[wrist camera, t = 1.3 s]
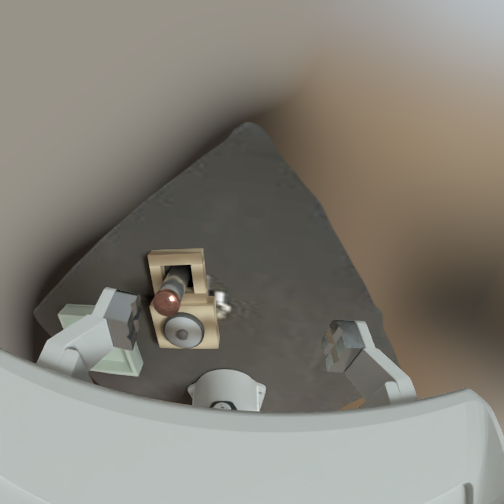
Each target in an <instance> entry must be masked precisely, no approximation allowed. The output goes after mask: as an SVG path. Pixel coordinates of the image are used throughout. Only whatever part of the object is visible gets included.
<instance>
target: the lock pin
mask: <svg viewBox="0 0 504 504" xmlns="http://www.w3.org/2000/svg"><path fill="white" fill-rule="evenodd" d="M190 277H191V273H190V270H189V268H188V267H187V266H185V265H173V266H172V267H171V269H170V271H169V272H168V274H167V276H166V278H165V280H164V281H163V283H162V285H161V287H160V289H159V291H158V292H157V293H156V295H155V297H154V299H153V307H154V309H155V310H156V311H157V312H158V313H159V314H161V315H163V316H167V317H170V316H174V315H175V314H177V313H178V311H179V308H180V306H181V301H182V298H183V295H184V293H185V290H186V287H187V285H188V282H189V279H190Z"/></svg>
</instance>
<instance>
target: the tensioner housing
mask: <svg viewBox="0 0 504 504" xmlns="http://www.w3.org/2000/svg"><path fill="white" fill-rule="evenodd" d="M147 256H148V262H149V267H150V273H151V278H152V283H153V288H154V293H155V295H156V293H157V292H158V291H159V289H160V287H161V285H162V283H163V281H164V280H165V278H166V273H165V267H164V266H167V265H191V270H192V278H193V285H194V287H186V290H185V293H184V295H183V298H182V301H181V306H180V308H179V311H178V313H177V314H175V315H174V316H170V317H167V316H163V315H161V314H159V313H158V312H157V311H156V310H155V309H154V307H153V300H152V302H151V304H150V306H149V307H150V311H151V315H152V319H153V323H154V327H155V331H156V335H157V338H158V342H159V346H160V348H199V349H206V348H219V338H220V337H219V329H218V321H217V312H216V303H215V296H208V289H207V280H206V271H205V262H204V252H203V248H192V249H170V250H151V252H150V253H149V254H148V255H147ZM153 299H154V298H153Z"/></svg>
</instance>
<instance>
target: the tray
mask: <svg viewBox="0 0 504 504" xmlns="http://www.w3.org/2000/svg"><path fill="white" fill-rule="evenodd" d="M95 306H96V305H78V304H66V305H65V307H64V308H63V309H62V310H61V311H60V312H59V313H58V317H59V319H60V322H61V324H62V327H63V329H66V328H67V327H69V326H70V325H72V324H73V323H75V322H76V321H78V320H80V319H81V318H83V317H84V316H86V315H88V314H89V315H91V314H92V312H93V310H94V308H95ZM142 366H143V361H142V358H141V355H140V352H139V349H138V346H137V343H136V342H135V345H134V349H133V351H131V350H126V349H121V348H116V347H114V349H112V350H111V351H110V352H109V353H108V354H107V355H106V356H105V357H104V358H102V359H101V360H100V361H99V362H98V363H97V364H96V365H95V366H94V367H93V368H92V369H90V370H91V371H97V372H104V373H112V374H120V375H129V376H139V373H140V371H141V368H142Z"/></svg>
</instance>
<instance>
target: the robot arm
mask: <svg viewBox="0 0 504 504" xmlns="http://www.w3.org/2000/svg"><path fill="white" fill-rule="evenodd" d="M140 302H141V296H140V294H136V293H131V292H127V291H122V290H118V289H113V288H109V287H106V288H105V289H104V290H103V292H102V294H101V296H100V298H99V300H98V302H97V304H96V306H95V308H94V310H93V312H92V314H91V315H89V314H88V315H86V316H84V317H83V318H81V319H80V320H78V321H76V322H75V323H73V324H72V325H70V326H69V327H67V328H66V329H64V330H62V331H61V332H59V333H58V334H56V335H55V336H53V337H52V338H50V339H49V340H47V342H46V344H45V346H44V348H43V350H42V353H41V355H40V357H39V359H38V361H37V363H36V364H35V363H33V362H30V361H28V360H26V359H23V358H21V357H19V356H17V355H15V354H12V353H10V352H8V351H6V350H4V349H2V348H0V504H504V436H503V433H502V431H501V428H500V426H499V423H498V421H497V419H496V417H495V414H494V412H493V411H492V409H491V407H490V406H489V404H488V403H487V402H486V401H485V400H483V399H482V398H481V397H480V396H479V395H478V394H476V393H475V392H473V391H472V390H471V389H469V388H464V389H461V390H457V391H454V392H450V393H446V394H442V395H438V396H433V397H429V398H424V399H419V400H418V398H417V395H416V393H415V390H414V387H413V384H412V382H411V379H410V378H409V377H408V376H407V375H406V374H405V373H404V372H403V371H402V370H401V369H399V368H398V367H397V366H396V365H395V364H394V363H393V362H392V361H391V360H390V359H389V358H388V357H387V356H385V355H384V354H383V353H382V352H381V351H380V350H379V349H375V346H374V343H373V341H372V338H371V335H370V333H369V330H368V328H367V325H366V323H365V322H364V321H352V320H335V319H334V320H333V321H332V322H331V324H330V328H331V329H329V330H328V331H326V332H325V334H324V336H323V340H322V349H323V352H324V353H325V354H326V355H327V357H326V359H325V362H326V367H327V371H328V372H344V374H345V375H346V376H347V377H348V379H349V380H350V381H351V383H352V384H353V385H354V386H355V388H356V389H357V390H358V391H359V393H360V394H361V395H362V396H363V398H364V399H365V400H366V402H365V403H364V404H363V405H361V407H359V409H350V410H337V411H319V412H261V411H260V408H261V405H262V401H263V398H264V395H265V392H266V386H265V385H263V384H260V383H257V382H255V381H254V380H253V379H252V378H251V377H249V376H248V375H246V374H244V373H242V372H239V371H235V370H229V369H220V370H214V371H210V372H208V373H205V374H204V375H202V376H201V377H200V378H199V380H198V381H197V382H196V383H194V384H192V385H190V386H188V392H189V394H190V396H191V397H192V399H193V402H192V405H186V404H180V403H173V402H167V401H162V400H157V399H151V398H147V397H142V396H137V395H133V394H129V393H124V392H120V391H116V390H113V389H109V388H105V387H102V386H98V385H94V384H93V382H92V380H91V378H90V376H89V374H88V371H89V370H90V369H92V368H93V367H94V366H95V365H96V364H97V363H98V362H99V361H100V360H101V359H102V358H104V357H105V356H106V355H107V354H108V353H109V352H110V351H111V350H112V349H114V347H116V348H121V349H126V350H131V351H133V349H134V345H135V342H136V339H137V337H136V332H137V331H138V330H139V329H140V326H141V321H142V308H141V307H140V306H139V305H140Z"/></svg>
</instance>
